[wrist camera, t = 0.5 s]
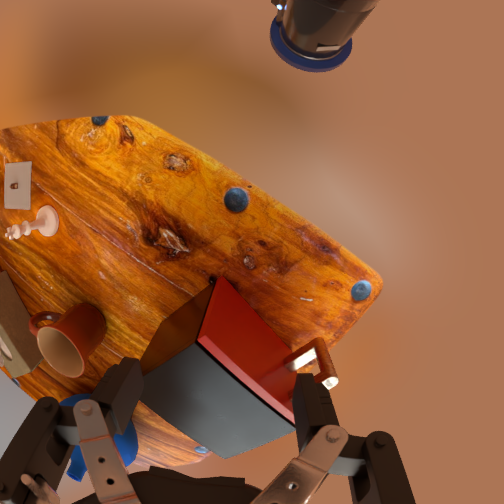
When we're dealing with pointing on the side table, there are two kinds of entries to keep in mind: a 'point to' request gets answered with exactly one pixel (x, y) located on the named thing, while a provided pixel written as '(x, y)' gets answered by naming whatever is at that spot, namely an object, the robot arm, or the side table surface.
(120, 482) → the robot arm
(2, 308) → the tissue box
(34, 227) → the chess piece
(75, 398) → the vase
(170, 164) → the side table surface
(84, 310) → the mug
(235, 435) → the dark brown cabinet
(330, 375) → the door
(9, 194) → the grey square plate
